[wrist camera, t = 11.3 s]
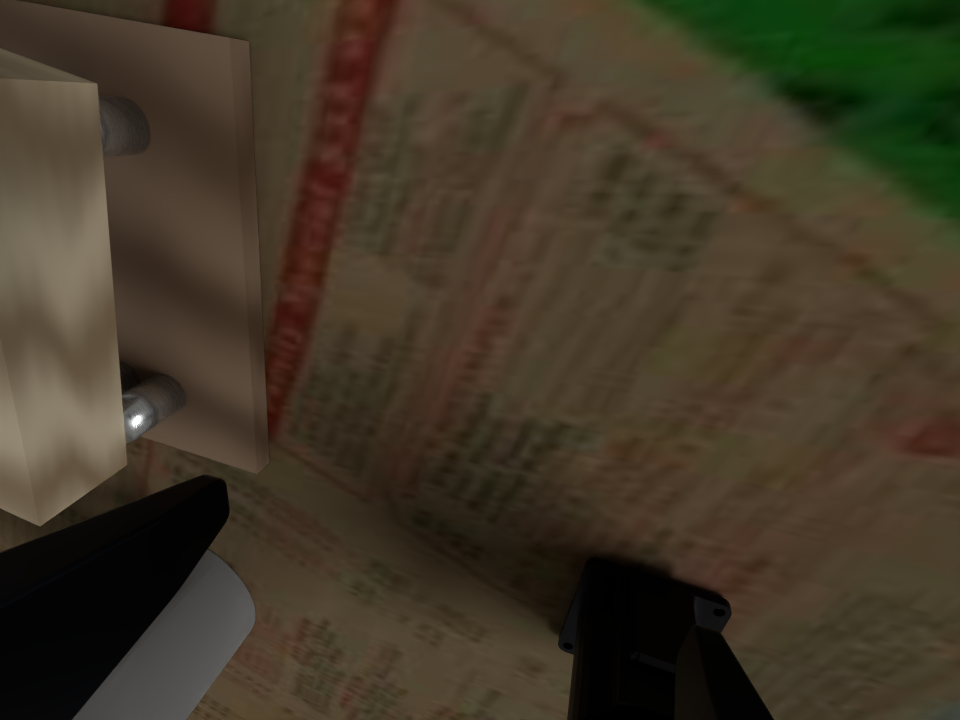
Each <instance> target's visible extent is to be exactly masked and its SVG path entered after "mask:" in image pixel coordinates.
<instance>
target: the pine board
mask: <svg viewBox="0 0 960 720" xmlns="http://www.w3.org/2000/svg"><path fill="white" fill-rule="evenodd" d="M125 466H127V455H126V443H125V430H124V417H123V404H122V392H121V379H120V366H119V353H118V341H117V328H116V315H115V302H114V290H113V277H112V264H111V251H110V239H109V226H108V213H107V200H106V188H105V175H104V162H103V149H102V137H101V124H100V111H99V99H98V86H97V83H95V82H92V81H89V80H86V79H84V78H81V77H78V76H75V75H73V74H70V73H67V72H64V71H62V70H59V69H56V68H53V67H51V66H48V65H45V64H42V63H40V62H37V61H34V60H31V59H29V58H26V57H23V56H20V55H18V54H15V53H12V52H9V51H7V50H4V49H1V48H0V508H1V509H3V510H5V511H7V512H9V513H12V514H14V515H16V516H18V517H20V518H22V519H25V520H27V521H29V522H31V523H33V524H35V525H37V526H41V525H43V524H44V523H46V522H47V521H48V520H50V519H51V518H53V517H54V516H56V515H57V514H58V513H60V512H61V511H63V510H64V509H65V508H67V507H68V506H70V505H71V504H73V503H74V502H75V501H77V500H78V499H80V498H81V497H83V496H84V495H85V494H87V493H88V492H90V491H91V490H92V489H94V488H95V487H97V486H98V485H100V484H101V483H102V482H104V481H105V480H107V479H108V478H109V477H111V476H112V475H114V474H115V473H117V472H118V471H119V470H121V469H122V468H124V467H125Z"/></svg>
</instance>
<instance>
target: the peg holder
mask: <svg viewBox="0 0 960 720" xmlns="http://www.w3.org/2000/svg"><path fill="white" fill-rule="evenodd" d="M0 48H1V49H4V50H7V51H9V52H12V53H15V54H18V55H20V56H23V57H26V58H29V59H31V60H34V61H37V62H40V63H42V64H45V65H48V66H51V67H53V68H56V69H59V70H62V71H64V72H67V73H70V74H73V75H75V76H78V77H81V78H84V79H86V80H89V81H92V82H95V83H97V86H98V99H99V111H100V124H101V137H102V149H103V162H104V175H105V188H106V200H107V213H108V226H109V239H110V251H111V264H112V277H113V290H114V302H115V315H116V328H117V341H118V353H119V366H120V379H121V392H122V404H123V417H124V430H125V443H126V444H127V443H130V442H132V441H133V440H135V439H136V438H138V437H140V436H141V437H144V438H147V439H150V440H153V441H156V442H159V443H162V444H165V445H169V446H172V447H175V448H178V449H181V450H184V451H187V452H190V453H193V454H196V455H199V456H202V457H206V458H209V459H212V460H215V461H218V462H221V463H224V464H227V465H230V466H233V467H236V468H239V469H243V470H246V471H249V472H252V473H255V474H258V473H259V472H260V471H261V470H262V469H263V468H264V467H265V466H266V465H268V464H269V442H268V421H267V401H266V380H265V359H264V339H263V318H262V297H261V277H260V256H259V235H258V215H257V194H256V173H255V153H254V132H253V111H252V91H251V70H250V49H249V41H244V40H239V39H233V38H228V37H222V36H216V35H211V34H205V33H199V32H194V31H188V30H182V29H177V28H171V27H165V26H160V25H154V24H148V23H143V22H137V21H131V20H126V19H120V18H114V17H109V16H103V15H98V14H92V13H86V12H81V11H75V10H69V9H64V8H58V7H52V6H47V5H41V4H35V3H30V2H24V1H18V0H0Z"/></svg>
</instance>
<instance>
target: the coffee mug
mask: <svg viewBox="0 0 960 720" xmlns="http://www.w3.org/2000/svg"><path fill="white" fill-rule="evenodd" d="M254 623H255V607H254V603H253V600H252V598H251V595H250V593H249V591H248V590H247V588H246V586H245V584H244V583H243V582H242V580H241V579H240V578H239V576H238V575H237V574H236V573H235V572H234V571H233V570H232V569H231V568H230V567H229V565H228V564H227V563H225V562H224V561H223V560H222V559H221V558H220V557H218V556H217V555H216V554H214V553H213V552H212V551H210V550H209V549H207V551H206V552H205V554H204V555H203V556H202V558H201V559H200V561H199V562H198V564H197V565H196V567H195V568H194V570H193V571H192V573H191V574H190V576H189V577H188V578H187V580H186V581H185V583H184V584H183V585H182V587H181V588H180V589H179V591H178V592H177V593H176V595H175V596H174V597H173V598H172V600H171V601H170V602H169V603H168V605H167V606H166V607H165V608H164V609H163V611H162V612H161V613H160V614H159V616H158V617H157V618H156V619H155V620H154V622H153V623H152V624H151V625H150V626H149V628H148V629H147V630H146V631H145V632H144V634H143V635H142V636H141V637H140V638H139V640H138V641H137V642H136V643H135V645H134V646H133V647H132V648H131V649H130V651H129V652H128V653H127V654H126V655H125V657H124V658H123V659H122V660H121V661H120V663H119V664H118V665H117V666H116V668H115V669H114V670H113V671H112V672H111V674H110V675H109V676H108V677H107V678H106V680H105V681H104V682H103V683H102V684H101V686H100V687H99V688H98V689H97V690H96V692H95V693H94V694H93V695H92V697H91V698H90V699H89V700H88V701H87V703H86V704H85V705H84V706H83V707H82V709H81V710H80V711H79V712H78V713H77V715H76V716H75V717H74V718H73V720H186V719H187V718H188V716H189V715H190V714H191V712H192V711H193V710H194V708H195V707H196V705H197V704H198V703H199V701H200V700H201V699H202V697H203V696H204V694H205V693H206V692H207V690H208V689H209V688H210V686H211V685H212V683H213V682H214V681H215V679H216V678H217V677H218V675H219V674H220V672H221V671H222V670H223V668H224V667H225V666H226V664H227V663H228V661H229V660H230V659H231V657H232V656H233V655H234V653H235V652H236V650H237V649H238V648H239V646H240V645H241V644H242V642H243V641H244V639H245V638H246V637H247V635H248V634H249V633H250V631H251V630H252V628H253V626H254Z"/></svg>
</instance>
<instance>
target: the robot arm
mask: <svg viewBox="0 0 960 720" xmlns="http://www.w3.org/2000/svg"><path fill="white" fill-rule="evenodd" d="M229 511H230V508H229V501H228V493H227V485H226V483H225V481H224V480H223V479H220V478H217V477H214V476H211V475H201V476H198V477H195V478H193V479H190V480H188V481H185V482H182V483H180V484H177V485H175V486H172V487H169V488H167V489H164V490H161V491H159V492H156V493H154V494H151V495H148V496H146V497H143V498H141V499H138V500H135V501H133V502H130V503H127V504H125V505H122V506H120V507H117V508H114V509H112V510H109V511H107V512H104V513H101V514H99V515H96V516H93V517H91V518H88V519H86V520H83V521H80V522H78V523H75V524H72V525H70V526H67V527H65V528H62V529H59V530H57V531H54V532H52V533H49V534H46V535H44V536H41V537H38V538H36V539H33V540H31V541H28V542H25V543H23V544H20V545H17V546H15V547H12V548H10V549H7V550H4V551H2V552H0V720H73V718H74V717H75V716H76V715H77V713H78V712H79V711H80V710H81V709H82V707H83V706H84V705H85V704H86V703H87V701H88V700H89V699H90V698H91V697H92V695H93V694H94V693H95V692H96V690H97V689H98V688H99V687H100V686H101V684H102V683H103V682H104V681H105V680H106V678H107V677H108V676H109V675H110V674H111V672H112V671H113V670H114V669H115V668H116V666H117V665H118V664H119V663H120V661H121V660H122V659H123V658H124V657H125V655H126V654H127V653H128V652H129V651H130V649H131V648H132V647H133V646H134V645H135V643H136V642H137V641H138V640H139V638H140V637H141V636H142V635H143V634H144V632H145V631H146V630H147V629H148V628H149V626H150V625H151V624H152V623H153V622H154V620H155V619H156V618H157V617H158V616H159V614H160V613H161V612H162V611H163V609H164V608H165V607H166V606H167V605H168V603H169V602H170V601H171V600H172V598H173V597H174V596H175V595H176V593H177V592H178V591H179V589H180V588H181V587H182V585H183V584H184V583H185V581H186V580H187V578H188V577H189V576H190V574H191V573H192V571H193V570H194V568H195V567H196V565H197V564H198V562H199V561H200V559H201V558H202V556H203V555H204V554H205V552H206V551H207V549H208V548H209V546H210V545H211V543H212V542H213V540H214V539H215V537H216V536H217V535H218V533H219V532H220V530H221V529H222V527H223V526H224V524H225V523H226V521H227V519H228V516H229ZM594 569H598V570H594ZM717 608H720V609H717ZM731 614H732V612H731V608H730V604H729V602H728V601H727V600H726V599H724V598H722V597H718V596H715V595H712V594H709V593H706V592H703V591H699V590H696V589H693V588H690V587H687V586H684V585H680V584H677V583H674V582H671V581H668V580H665V579H661V578H658V577H655V576H652V575H649V574H646V573H643V572H639V571H636V570H633V569H630V568H627V567H624V566H620V565H617V564H614V563H611V562H608V561H605V560H601V559H597V558H592V559H589V560H588V561H587V562H586V564H585V567H584V570H583V572H582V575H581V578H580V581H579V583H578V586H577V589H576V591H575V594H574V597H573V600H572V602H571V605H570V608H569V611H568V613H567V616H566V619H565V621H564V624H563V627H562V630H561V632H560V635H559V642H558V646H559V648H560V649H561V650H563V651H565V652H567V653H570V654H573V655H574V658H573V668H572V678H571V688H570V697H569V707H568V717H567V720H774V719H773V717H772V715H771V714H770V712H769V711H768V709H767V707H766V706H765V704H764V702H763V701H762V699H761V698H760V696H759V694H758V693H757V691H756V689H755V688H754V686H753V685H752V683H751V681H750V680H749V678H748V676H747V675H746V673H745V672H744V670H743V668H742V667H741V665H740V663H739V662H738V660H737V658H736V657H735V655H734V654H733V652H732V650H731V649H730V647H729V645H728V644H727V642H726V641H725V639H724V637H723V636H722V634H721V632H722V630H723V628H724V627H725V625H726V623H727V622H728V620H729V619H730V617H731Z"/></svg>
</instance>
